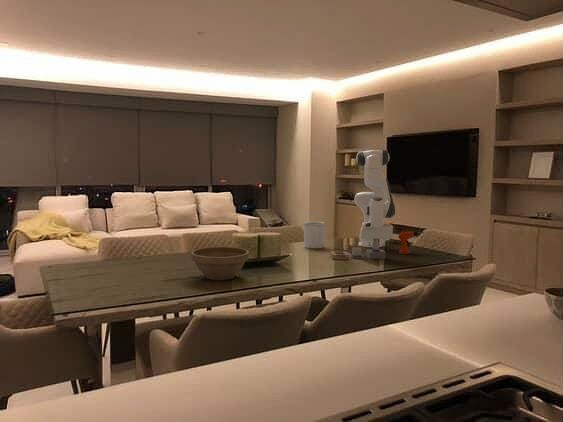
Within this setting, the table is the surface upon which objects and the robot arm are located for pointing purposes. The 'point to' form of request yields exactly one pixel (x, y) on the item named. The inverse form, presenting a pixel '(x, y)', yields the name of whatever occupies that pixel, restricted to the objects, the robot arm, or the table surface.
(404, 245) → the toy drill
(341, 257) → the rack
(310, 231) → the utensil holder
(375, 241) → the drill bit
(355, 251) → the release bar
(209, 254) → the flower pot
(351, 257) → the guide channel
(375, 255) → the socket block
